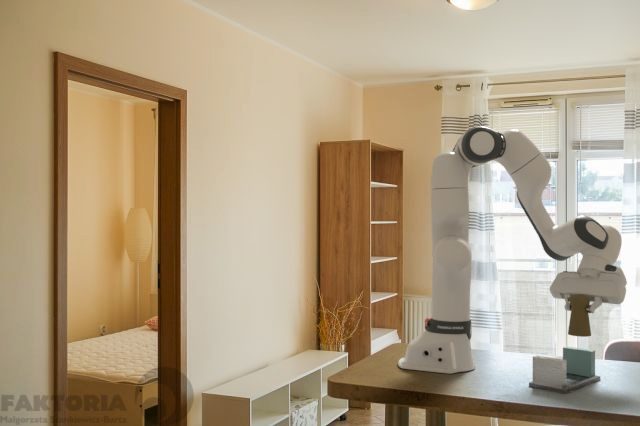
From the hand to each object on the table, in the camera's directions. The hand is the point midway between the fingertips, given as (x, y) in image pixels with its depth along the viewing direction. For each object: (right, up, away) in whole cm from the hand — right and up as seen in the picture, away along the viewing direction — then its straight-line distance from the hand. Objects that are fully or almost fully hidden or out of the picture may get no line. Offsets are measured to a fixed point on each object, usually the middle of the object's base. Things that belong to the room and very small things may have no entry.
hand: (578, 310), depth 182 cm
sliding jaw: (0, -18, 0) cm, 18 cm away
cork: (0, -7, 0) cm, 7 cm away
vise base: (-6, -19, -5) cm, 20 cm away
